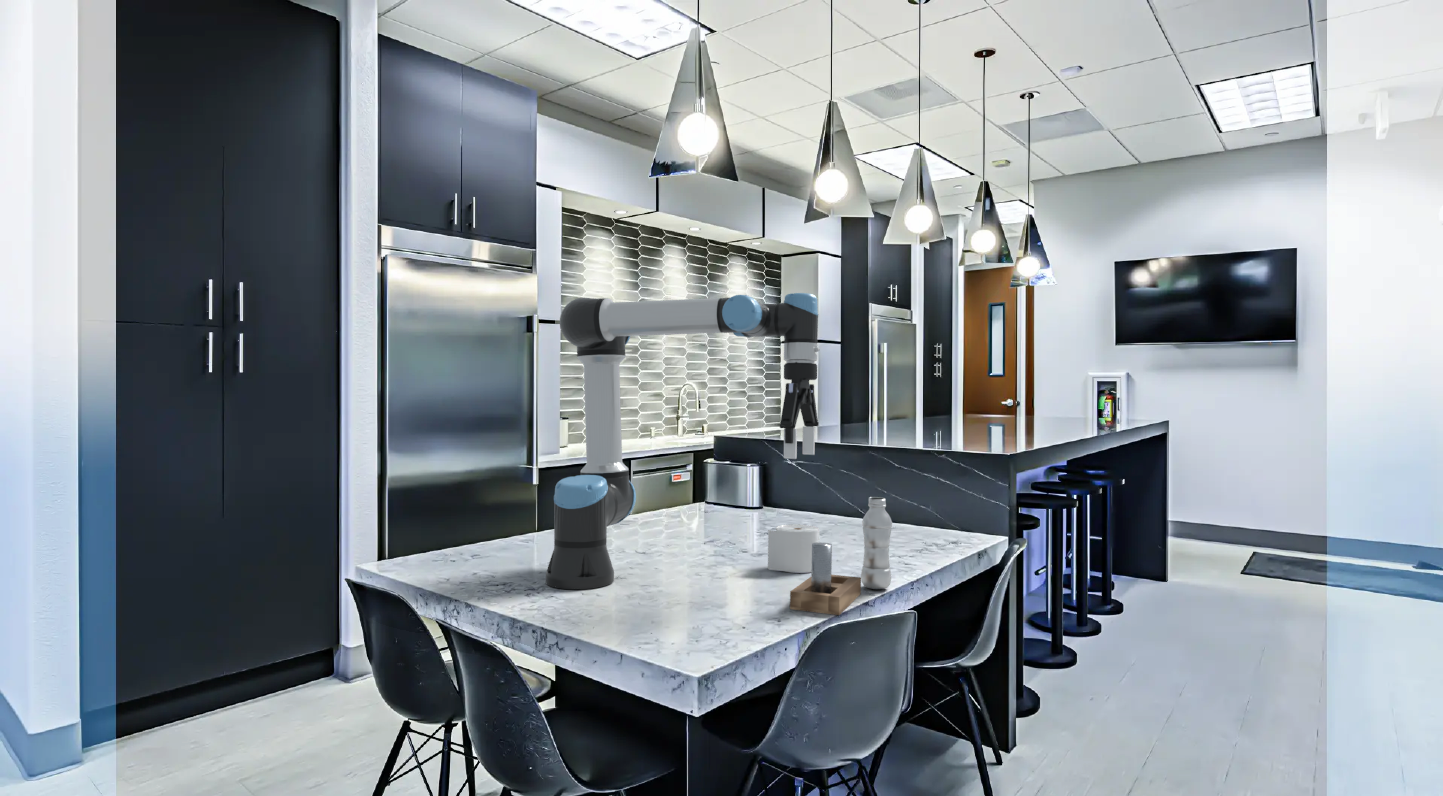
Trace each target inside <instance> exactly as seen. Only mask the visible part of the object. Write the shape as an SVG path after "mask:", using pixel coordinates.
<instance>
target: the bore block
mask: <svg viewBox="0 0 1443 796" xmlns="http://www.w3.org/2000/svg"><path fill="white" fill-rule="evenodd" d="M861 592H862V581H861V576H860V577H858V576H849V575H840V574H839V575H838V574H831V594H827V593H818V592H811V576H810V577H809V578H806V580H804V581H803V582H801V583H800V584H798V585H797V586H796V587H795V588H793V589H792V590H791V591H790V593H789V598H790V599H789V610H793V611H794V610H795V611H803V612H811V613H817V614H825V615H826V614H827V615H833V616H840V615H842V613H843V612H844V611H845V610H846V609H848V607H849V606H850V605H851V604H852V603H853V602H854V601H855V600H856V599H857V598H858V597H860V595H862V593H861Z"/></svg>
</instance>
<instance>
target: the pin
mask: <svg viewBox="0 0 1443 796" xmlns="http://www.w3.org/2000/svg"><path fill="white" fill-rule="evenodd" d="M832 550H833V545H832V543H828V542H819V543H812V570H811V572H810V573H811V574H810V577H811V592H818V593H827V594H831V575H832V565H833V564H832V563H833V562H832V561H833V560H832V559H833V558H832V556H833V555H832V553H833V551H832Z"/></svg>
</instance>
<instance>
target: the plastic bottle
mask: <svg viewBox="0 0 1443 796" xmlns="http://www.w3.org/2000/svg"><path fill="white" fill-rule="evenodd" d="M886 501H887V500H886V498H885V497H881V496H879V497H878V496H870V497H868V504H867V506H868V507H869V508H868V510H867V511H866V512H865V514H864V516H863V517H862V521H861V525H862V531H863V533H862V534H863V545H864V548H863V550H864V553H863V561H862V562H863V563H862V568H861V572H860V578H861V584H862V585H863V587H865V588H868V589H873V590H885V589H888V588H889V587H890V585H891V584H892V583H891V582H892V572H891V567H890V566H891V565H890V564H891V563H890V539H891V536H892V527H893V521H892V518H891V516H890V514H889V513H888V512H887V511H886V507H887V503H886Z"/></svg>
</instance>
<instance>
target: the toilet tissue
mask: <svg viewBox="0 0 1443 796" xmlns="http://www.w3.org/2000/svg"><path fill="white" fill-rule="evenodd" d="M767 532H768V534H767V535H768V539H767V546H768V547H767V569H768V570H770V571H781V572H786V573H792V574H793V573H794V574H795V573H796V574H799V573H800V574H805V573H808V574H809V573H811V570H812V543H820V528H819V527H818V526H814V525H807V524H794V523H793V524H781V525H779V526H776V527H775V530H768V531H767Z"/></svg>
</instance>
